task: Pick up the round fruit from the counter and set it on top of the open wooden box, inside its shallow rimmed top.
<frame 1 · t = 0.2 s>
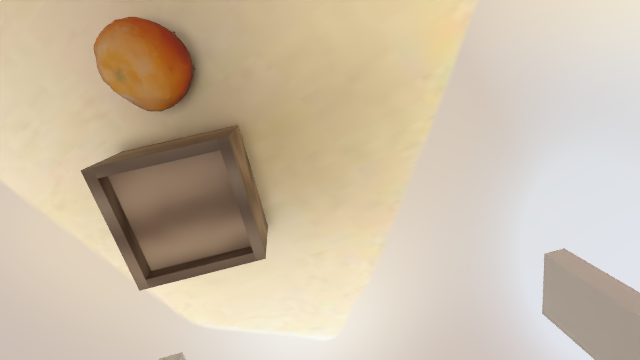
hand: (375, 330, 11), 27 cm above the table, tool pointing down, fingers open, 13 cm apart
open wooden box: (199, 191, 36), on the table
fruit: (161, 67, 32), on the table
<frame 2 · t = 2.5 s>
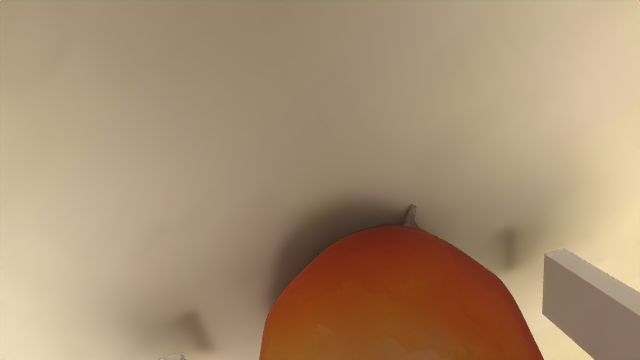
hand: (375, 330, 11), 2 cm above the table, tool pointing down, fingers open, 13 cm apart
fruit: (360, 278, 13), on the table
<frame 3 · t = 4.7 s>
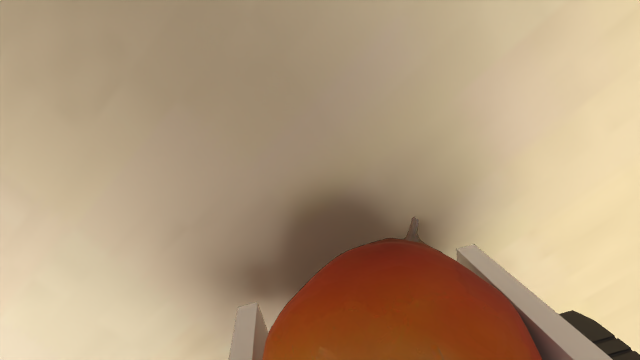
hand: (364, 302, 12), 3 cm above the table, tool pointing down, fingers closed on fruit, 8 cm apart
fruit: (362, 292, 13), point 3 cm above the table, touching gripper
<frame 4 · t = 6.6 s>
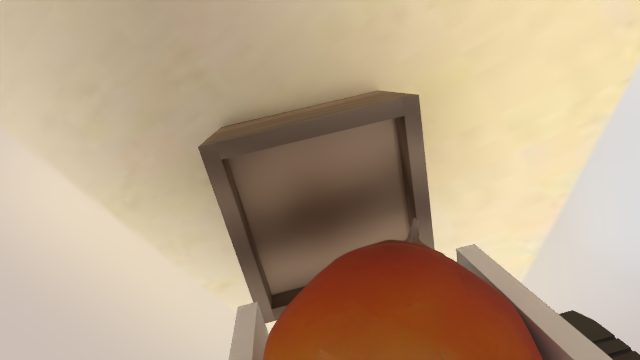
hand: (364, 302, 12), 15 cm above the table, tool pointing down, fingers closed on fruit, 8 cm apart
open wooden box: (318, 183, 27), on the table
fruit: (363, 294, 13), point 15 cm above the table, touching gripper
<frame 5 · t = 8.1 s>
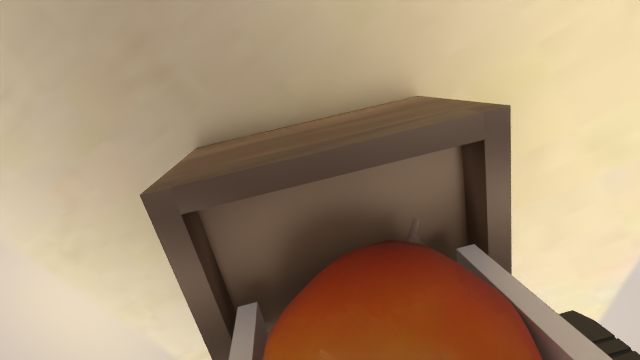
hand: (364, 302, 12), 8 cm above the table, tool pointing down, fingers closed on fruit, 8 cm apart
open wooden box: (332, 221, 20), on the table
fruit: (363, 294, 13), point 7 cm above the table, touching gripper
when the fingers open (8 cm above the table, at t = 8.7 s): fruit drops 1 cm, resting on open wooden box.
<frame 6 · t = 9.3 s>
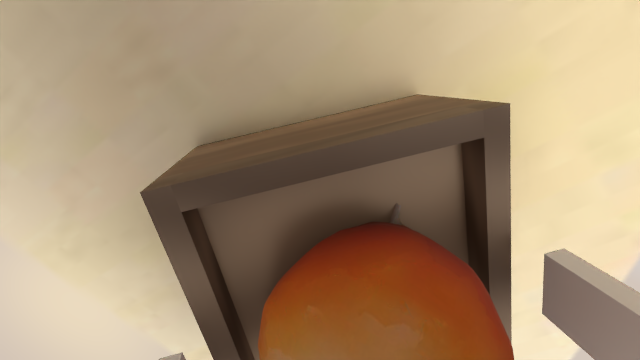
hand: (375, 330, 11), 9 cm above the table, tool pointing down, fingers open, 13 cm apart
open wooden box: (332, 220, 20), on the table
fruit: (351, 273, 14), point 6 cm above the table, touching open wooden box
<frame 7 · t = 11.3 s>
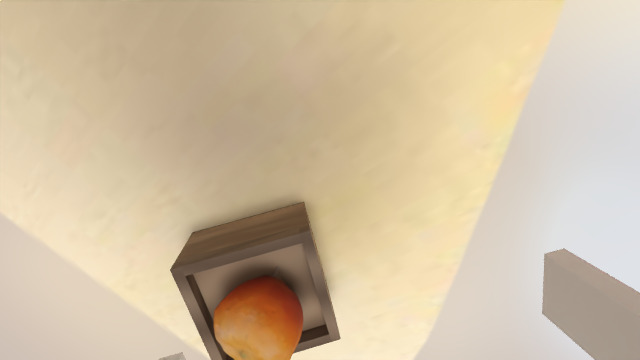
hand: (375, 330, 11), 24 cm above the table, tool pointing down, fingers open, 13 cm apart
open wooden box: (265, 265, 37), on the table
fruit: (262, 295, 31), point 6 cm above the table, touching open wooden box
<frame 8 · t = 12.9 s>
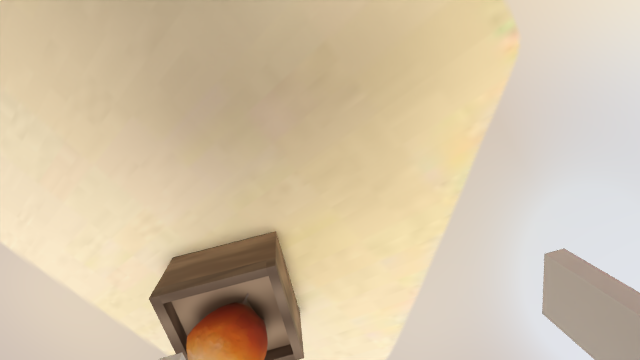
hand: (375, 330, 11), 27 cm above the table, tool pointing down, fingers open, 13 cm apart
open wooden box: (240, 286, 40), on the table
fruit: (233, 318, 35), point 6 cm above the table, touching open wooden box
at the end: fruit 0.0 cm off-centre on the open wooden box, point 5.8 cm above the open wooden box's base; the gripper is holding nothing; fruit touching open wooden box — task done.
